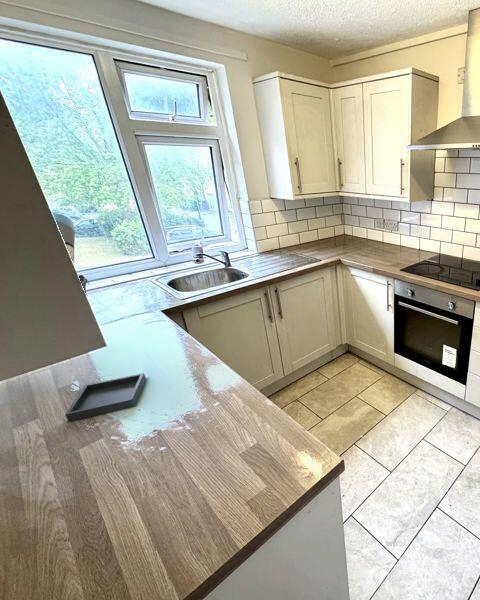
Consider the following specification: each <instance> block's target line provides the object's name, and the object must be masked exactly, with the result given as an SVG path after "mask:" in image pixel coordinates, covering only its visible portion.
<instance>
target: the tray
mask: <svg viewBox="0 0 480 600" xmlns="http://www.w3.org/2000/svg"><path fill="white" fill-rule="evenodd" d="M146 381H147V378H146V374H145V373H144V372H142V373H137V374H132V375H127V376H123V377H116V378H112V379H107V380H103V381H98V382H92V383H87V384H85V385H84V386H83V387H82V389H81V390H80V391H79V393H78V395H77V396H76V398H75V399H74V400H73V402H72V403H71V405H70V407H69V409H67V411H66V413H64V416H65V417H66V419H67V422H73V421H77V420H82V419H86V418H90V417H94V416H98V415H104V414H108V413H111V412H116V411H120V410H125V409H130V408H133V407H135V406H136V405H137V403H138V400H139V397H140V395H141V393H142V390H143V388H144V386H145V383H146Z"/></svg>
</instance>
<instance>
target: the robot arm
mask: <svg viewBox="0 0 480 600" xmlns="http://www.w3.org/2000/svg"><path fill="white" fill-rule="evenodd" d="M52 213H53V215H54V217H55V220H56V222H57V225H58V227H59V230H60V232H61V234H62V237H63V239H64V241H65V244H66V246H67V249H68V251H69V254H70V256H71V259H72V261H73V263H74V264H75V242H76V241H75V240H76V239H75V238H76V230H75V222H74V220H73V219H72V218H71V217H70V216H68V215H66V214H64V213H59V212H54V211H53V212H52ZM78 276H79V278H80V281H81V283H82V286H83V288H84V290H85V293H86V294H87V288H86V287H87V283H88V278H87V277H85V276H84V275H83V274H79V275H78Z"/></svg>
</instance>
